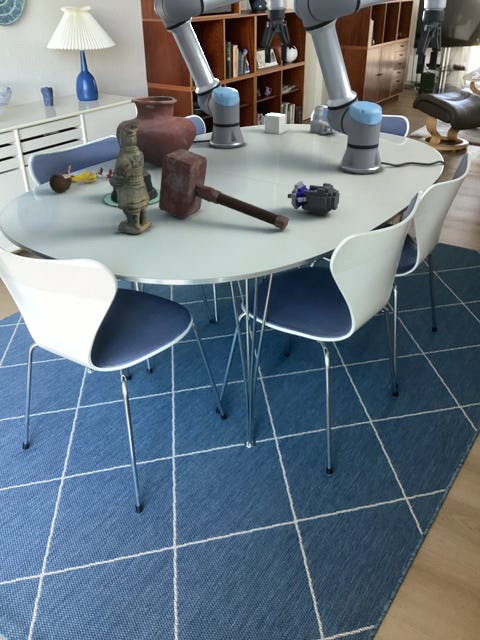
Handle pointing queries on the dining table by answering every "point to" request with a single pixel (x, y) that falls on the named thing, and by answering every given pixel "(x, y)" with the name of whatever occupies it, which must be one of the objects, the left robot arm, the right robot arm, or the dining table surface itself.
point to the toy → (315, 198)
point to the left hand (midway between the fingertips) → (275, 61)
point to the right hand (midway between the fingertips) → (425, 71)
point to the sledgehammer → (200, 190)
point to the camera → (320, 122)
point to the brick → (275, 123)
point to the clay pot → (160, 128)
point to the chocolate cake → (152, 192)
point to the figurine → (74, 179)
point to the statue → (131, 182)
